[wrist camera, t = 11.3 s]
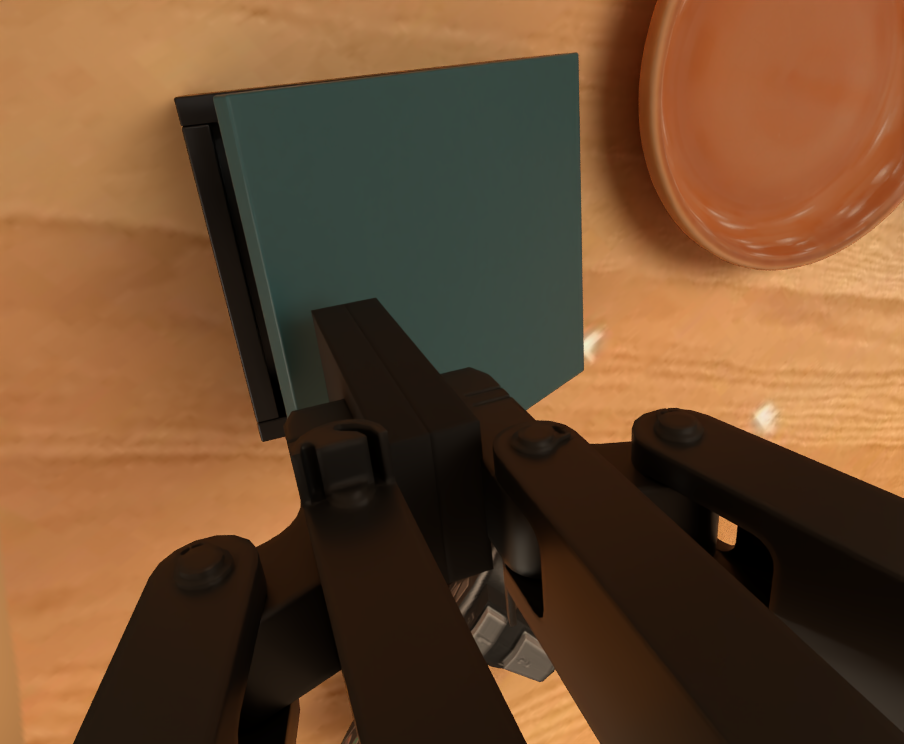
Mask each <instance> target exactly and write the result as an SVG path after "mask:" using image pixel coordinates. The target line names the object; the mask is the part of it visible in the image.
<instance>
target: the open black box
mask: <svg viewBox="0 0 904 744" xmlns="http://www.w3.org/2000/svg"><path fill="white" fill-rule="evenodd" d="M555 55H557V54H555ZM544 56H549V55H544ZM534 57H541V56H534ZM524 58H532V57H524ZM524 58H515V59H524ZM515 59H506V60H497V61H488V62H479V63H470V64H461V65H452V66H443V67H434V68H425V69H416V70H408V71H399V72H390V73H381V74H372V75H363V76H354V77H345V78H336V79H327V80H318V81H309V82H300V83H291V84H282V85H274V86H265V87H256V88H247V89H238V90H229V91H220V92H211V93H202V94H193V95H184V96H178V97H175V98H174V101H175V105H176V109H177V112H178V116H179V120H180V124H181V126H183V127H182V132H183V136H184V140H185V144H186V148H187V151H188V155H189V159H190V163H191V167H192V171H193V175H194V179H195V183H196V187H197V191H198V194H199V198H200V202H201V206H202V210H203V214H204V218H205V222H206V226H207V230H208V234H209V237H210V241H211V245H212V249H213V253H214V257H215V261H216V265H217V269H218V273H219V277H220V280H221V284H222V288H223V292H224V296H225V300H226V304H227V308H228V312H229V316H230V320H231V323H232V327H233V331H234V335H235V339H236V343H237V347H238V351H239V355H240V359H241V363H242V366H243V370H244V374H245V378H246V382H247V386H248V390H249V394H250V398H251V402H252V406H253V409H254V413H255V417H256V421H257V425H258V429H259V433H260V437H261V440H262V442H265V441H269V440H273V439H277V438H281V437H285V432H284V428H283V426H284V424H285V422H286V420H287V414H286V410H285V406H284V401H283V397H282V393H281V389H280V384H279V380H278V376H277V371H276V367H275V363H274V359H273V354H272V350H271V346H270V341H269V337H268V333H267V328H266V324H265V320H264V316H263V311H262V307H261V303H260V298H259V294H258V290H257V286H256V281H255V277H254V273H253V268H252V264H251V260H250V255H249V251H248V247H247V243H246V238H245V234H244V230H243V225H242V221H241V217H240V212H239V208H238V204H237V200H236V195H235V191H234V187H233V182H232V178H231V174H230V170H229V165H228V161H227V157H226V152H225V148H224V144H223V139H222V135H221V131H220V127H219V122H218V118H217V114H216V109H215V105H214V101H213V97H214V96H215V95H222V94H230V93H238V92H247V91H255V90H264V89H272V88H280V87H289V86H297V85H306V84H314V83H322V82H331V81H339V80H348V79H356V78H364V77H373V76H381V75H389V74H398V73H406V72H415V71H423V70H431V69H440V68H448V67H457V66H465V65H473V64H482V63H490V62H499V61H507V60H515Z"/></svg>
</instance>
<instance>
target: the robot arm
mask: <svg viewBox="0 0 904 744" xmlns="http://www.w3.org/2000/svg"><path fill="white" fill-rule="evenodd" d="M311 313H312V318H313V323H314V328H315V333H316V338H317V343H318V348H319V353H320V358H321V363H322V368H323V373H324V378H325V383H326V388H327V393H328V398H329V402H328V403H324V404H320V405H316V406H312V407H307V408H303V409H299V410H295V411H291V413H290V415H289V417H288V419H287V420H286V422H285V424H284V426H283V428H284V432H285V436H286V440H287V444H288V449H289V453H290V457H291V461H292V466H293V470H294V474H295V478H296V482H297V487H298V491H299V495H300V499H301V508H300V510H299V513H298V515H297V517H296V518H295V519H294V521H293V522H292V523H291V525H290V526H288V527H287V528H286V529H285V530H284V531H283V532H281V533H280V534H279V535H277V536H275V537H274V538H272V539H271V540H269V541H267V542H265V543H263V544H261V545H259V546H258V547H255V546H254V545H253V544H252V543H251V542H250V540H248V539H245V538H242V537H239V536H235V535H216V536H212V537H208V538H204V539H200V540H196V541H194V542H192V543H190V544H188V545H185V546H183V547H181V548H179V549H177V550H176V551H174V552H173V553H172V554H170V555H169V556H168V557H167V558H165V559H164V560H163V561H162V562H160V563H159V565H158V566H157V567H156V569H155V570H154V571H153V573H152V574H151V576H150V577H149V579H148V581H147V583H146V586H145V588H144V590H143V592H142V594H141V596H140V599H139V601H138V603H137V605H136V607H135V610H134V612H133V614H132V616H131V618H130V620H129V623H128V625H127V627H126V629H125V631H124V634H123V636H122V638H121V640H120V642H119V644H118V647H117V649H116V651H115V653H114V655H113V658H112V660H111V662H110V664H109V666H108V668H107V671H106V673H105V675H104V677H103V679H102V682H101V684H100V686H99V688H98V690H97V692H96V695H95V697H94V699H93V701H92V703H91V706H90V708H89V710H88V712H87V714H86V717H85V719H84V721H83V723H82V725H81V727H80V730H79V732H78V734H77V736H76V738H75V741H74V743H73V744H296V738H297V730H298V722H299V714H300V705H299V698H300V697H301V696H303V695H304V694H306V693H307V692H309V691H310V690H312V689H313V688H315V687H316V686H318V685H319V684H321V683H322V682H324V681H325V680H327V679H328V678H330V677H331V676H333V675H334V674H336V673H337V672H339V671H340V670H342V674H343V678H344V683H345V687H346V691H347V695H348V699H349V703H350V707H351V711H352V715H353V720H354V724H355V728H356V732H357V736H358V740H359V744H527V743H526V741H525V739H524V737H523V735H522V733H521V731H520V729H519V727H518V725H517V723H516V721H515V719H514V717H513V715H512V713H511V711H510V709H509V707H508V705H507V703H506V701H505V699H504V697H503V695H502V693H501V691H500V689H499V687H498V685H497V683H496V681H495V679H494V677H493V675H492V673H491V671H490V669H489V667H488V665H487V663H486V661H485V659H484V657H483V655H482V653H481V651H480V649H479V647H478V645H477V643H476V641H475V639H474V637H473V635H472V633H471V631H470V629H469V627H468V625H467V623H466V621H465V619H464V617H463V615H462V613H461V611H460V609H459V607H458V605H457V603H456V601H455V599H454V597H453V595H452V593H451V591H450V589H449V587H448V585H447V584H449V583H452V582H455V581H458V580H461V579H464V578H468V577H471V576H474V575H477V574H480V573H483V572H486V571H489V570H492V569H494V568H493V557H492V547H491V542H492V543H493V545H494V547H495V548H496V550H497V551H498V553H499V554H500V556H501V558H502V561H503V572H504V584H505V595H506V607H507V617H508V620H509V624H510V627H513V626H516V625H517V618H516V609H517V607H518V609H519V610H520V612H521V613H522V615H523V617H524V618H525V620H526V622H527V623H528V625H529V627H530V628H531V630H532V632H533V633H534V635H535V637H536V638H537V640H538V642H539V643H540V645H541V647H542V648H543V650H544V651H545V653H546V655H547V656H548V658H549V660H550V661H551V663H552V665H553V666H554V668H555V670H556V671H557V673H558V675H559V676H560V678H561V680H562V681H563V683H564V685H565V686H566V688H567V689H568V691H569V693H570V694H571V696H572V698H573V699H574V701H575V703H576V704H577V706H578V708H579V709H580V711H581V713H582V714H583V716H584V718H585V719H586V721H587V723H588V724H589V726H590V728H591V729H592V731H593V732H594V734H595V736H596V737H597V739H598V741H599V742H600V744H904V498H902V497H899V496H897V495H895V494H892V493H890V492H888V491H885V490H883V489H881V488H878V487H876V486H873V485H871V484H869V483H866V482H864V481H862V480H859V479H857V478H855V477H852V476H850V475H848V474H845V473H843V472H840V471H838V470H836V469H833V468H831V467H829V466H826V465H824V464H822V463H819V462H817V461H815V460H812V459H810V458H807V457H805V456H803V455H800V454H798V453H796V452H793V451H791V450H789V449H786V448H784V447H782V446H779V445H777V444H774V443H772V442H770V441H767V440H765V439H763V438H760V437H758V436H756V435H753V434H751V433H749V432H746V431H744V430H742V429H739V428H737V427H734V426H732V425H730V424H727V423H725V422H723V421H720V420H718V419H716V418H713V417H711V416H709V415H706V414H702V413H699V412H696V411H692V410H684V409H679V408H668V409H666V408H665V409H659V410H656V411H652V412H649V413H646V414H643V415H642V416H641V417H639V418H638V419H636V420H635V421H634V424H633V427H632V441H631V442H618V443H606V444H589V443H588V442H587V441H586V440H585V439H584V438H583V437H581V436H580V435H579V434H578V433H577V432H576V431H575V430H573V429H571V428H570V427H568V426H566V425H564V424H560V423H556V422H553V421H539V420H535V419H534V418H533V417H532V416H531V415H530V414H529V413H528V412H527V411H526V410H525V409H524V408H523V407H522V406H521V405H520V404H519V403H518V402H517V401H516V400H515V399H514V398H513V397H510V395H509V393H508V392H507V391H505V390H504V389H503V388H501V386H500V385H499V384H498V383H497V382H496V381H495V380H494V379H493V378H492V377H491V376H490V375H489V374H487V373H484V372H482V371H479V370H476V369H474V368H471V367H467V368H463V369H459V370H455V371H450V372H446V373H442V374H440V373H439V372H438V371H437V370H436V369H435V367H434V366H433V365H432V364H431V363H430V361H429V360H428V359H427V358H426V357H425V355H424V354H423V353H422V352H421V351H420V349H419V348H418V347H417V346H416V345H415V343H414V342H413V341H412V340H411V339H410V337H409V336H408V335H407V334H406V333H405V332H404V330H403V329H402V328H401V327H400V326H399V324H398V323H397V322H396V321H395V320H394V318H393V317H392V316H391V315H390V314H389V312H388V311H387V310H386V309H385V308H384V306H383V305H382V304H381V303H380V302H379V300H378V299H377V298H371V299H366V300H361V301H356V302H351V303H346V304H341V305H336V306H331V307H326V308H321V309H316V310H311ZM719 516H721V517H723V518H725V519H727V520H728V521H730V522H732V523H734V524H736V525H737V526H738V527H737V537H736V543H735V545H729V544H727V543H724V542H722V541H721V540H719V539H717V534H718V522H719Z"/></svg>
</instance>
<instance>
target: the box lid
mask: <svg viewBox="0 0 904 744" xmlns="http://www.w3.org/2000/svg"><path fill="white" fill-rule="evenodd" d="M213 101H214V105H215V109H216V114H217V118H218V122H219V127H220V131H221V135H222V139H223V144H224V148H225V152H226V157H227V161H228V165H229V170H230V174H231V178H232V182H233V187H234V191H235V195H236V200H237V204H238V208H239V212H240V217H241V221H242V225H243V230H244V234H245V238H246V243H247V247H248V251H249V255H250V260H251V264H252V268H253V273H254V277H255V281H256V286H257V290H258V294H259V298H260V303H261V307H262V311H263V316H264V320H265V324H266V328H267V333H268V337H269V341H270V346H271V350H272V354H273V359H274V363H275V367H276V371H277V376H278V380H279V384H280V389H281V393H282V397H283V401H284V406H285V410H286V414H287V419H288V417H289V415H290V413H291V411H295V410H299V409H303V408H307V407H312V406H316V405H320V404H324V403H328V402H329V398H328V393H327V388H326V383H325V378H324V373H323V368H322V363H321V358H320V353H319V348H318V343H317V338H316V333H315V328H314V323H313V318H312V313H311V310H316V309H321V308H326V307H331V306H336V305H341V304H346V303H351V302H356V301H361V300H366V299H371V298H377V299H378V300H379V302H380V303H381V304H382V305H383V306H384V308H385V309H386V310H387V311H388V312H389V314H390V315H391V316H392V317H393V318H394V320H395V321H396V322H397V323H398V324H399V326H400V327H401V328H402V329H403V330H404V332H405V333H406V334H407V335H408V336H409V337H410V339H411V340H412V341H413V342H414V343H415V345H416V346H417V347H418V348H419V349H420V351H421V352H422V353H423V354H424V355H425V357H426V358H427V359H428V360H429V361H430V363H431V364H432V365H433V366H434V367H435V369H436V370H437V371H438V372H439V373H440V374H442V373H446V372H450V371H455V370H459V369H463V368H467V367H471V368H474V369H476V370H479V371H482V372H484V373H487V374H489V375H490V376H491V377H492V378H493V379H494V380H495V381H496V382H497V383H498V384H499V385H500V386H501V388H503V389H504V390H505V391H507V392H508V393H509V395H510V397H513V398H514V399H515V400H516V401H517V402H518V403H519V404H520V405H521V406H522V407H523V408H524V409H525V410H527V409H529V408H530V407H531V406H533V405H534V404H536V403H537V402H539V401H540V400H542V399H543V398H545V397H546V396H547V395H549V394H550V393H552V392H553V391H555V390H556V389H558V388H559V387H561V386H562V385H563V384H565V383H566V382H568V381H569V380H571V379H572V378H574V377H575V376H576V375H578V374H579V373H581V372H582V371H583V370H584V345H583V287H582V230H581V173H580V116H579V58H578V53H576V52H575V53H566V54H557V55H549V56H541V57H532V58H524V59H515V60H507V61H499V62H490V63H482V64H473V65H465V66H457V67H448V68H440V69H431V70H423V71H415V72H406V73H398V74H389V75H381V76H373V77H364V78H356V79H348V80H339V81H331V82H322V83H314V84H306V85H297V86H289V87H280V88H272V89H264V90H255V91H247V92H238V93H230V94H222V95H215V96H214V97H213Z"/></svg>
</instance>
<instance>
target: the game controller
mask: <svg viewBox="0 0 904 744" xmlns="http://www.w3.org/2000/svg"><path fill="white" fill-rule="evenodd" d="M491 547H492V557H493V568H494V569H492V570H489V571H486V572H483V573H480V574H477V575H474V576H471V577H468V578H464V579H461V580H458V581H455V582H452V583H449V584H447V585H448V587H449V589H450V591H451V593H452V595H453V597H454V599H455V601H456V603H457V605H458V607H459V609H460V611H461V613H462V615H463V617H464V619H465V621H466V623H467V625H468V627H469V629H470V631H471V633H472V635H473V637H474V639H475V641H476V643H477V645H478V647H479V649H480V651H481V653H482V655H483V657H484V659H485V661H486V663H487V665H489V666H492V667H496V668H503V669H506V670H508V671H511V672H514V673H517V674H519V675H522V676H525V677H528V678H530V679H533V680H536V681H538V682H541V681H542V682H543V681H544V680H545V679H546V678H547V677H548V676H549V675H550V674H551V673H553V672H554V670H555V668H554V666H553V665H552V663H551V661H550V660H549V658H548V656H547V655H546V653H545V651H544V650H543V648H542V647H541V645H540V643H539V642H538V640H537V638H536V637H535V635H534V633H533V632H532V630H531V628H530V627H529V625H528V623H527V622H526V620H525V618H524V617H523V615H522V613H521V612H520V610H519V609H518V607H517V609H516V618H517V625H516V626H513V627H510V624H509V620H508V617H507V607H506V595H505V584H504V572H503V561H502V558H501V556H500V554H499V553H498V551H497V550H496V548H495V547H494V545H493V543H492V542H491ZM341 744H359V740H358V736H357V732H356V728H355V724H354V720H353V722H352V724H351V726H350V727H349V729H348V731H347V733H346V735H345V737H344V739H343V741H342V743H341Z"/></svg>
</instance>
